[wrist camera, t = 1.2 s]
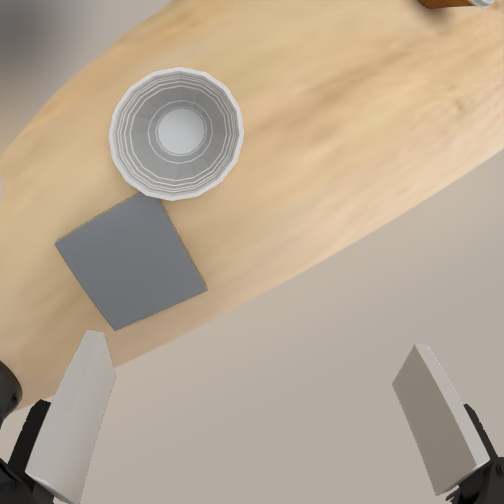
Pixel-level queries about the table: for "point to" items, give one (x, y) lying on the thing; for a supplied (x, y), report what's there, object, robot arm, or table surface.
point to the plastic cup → (176, 133)
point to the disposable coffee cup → (456, 3)
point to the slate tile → (131, 261)
